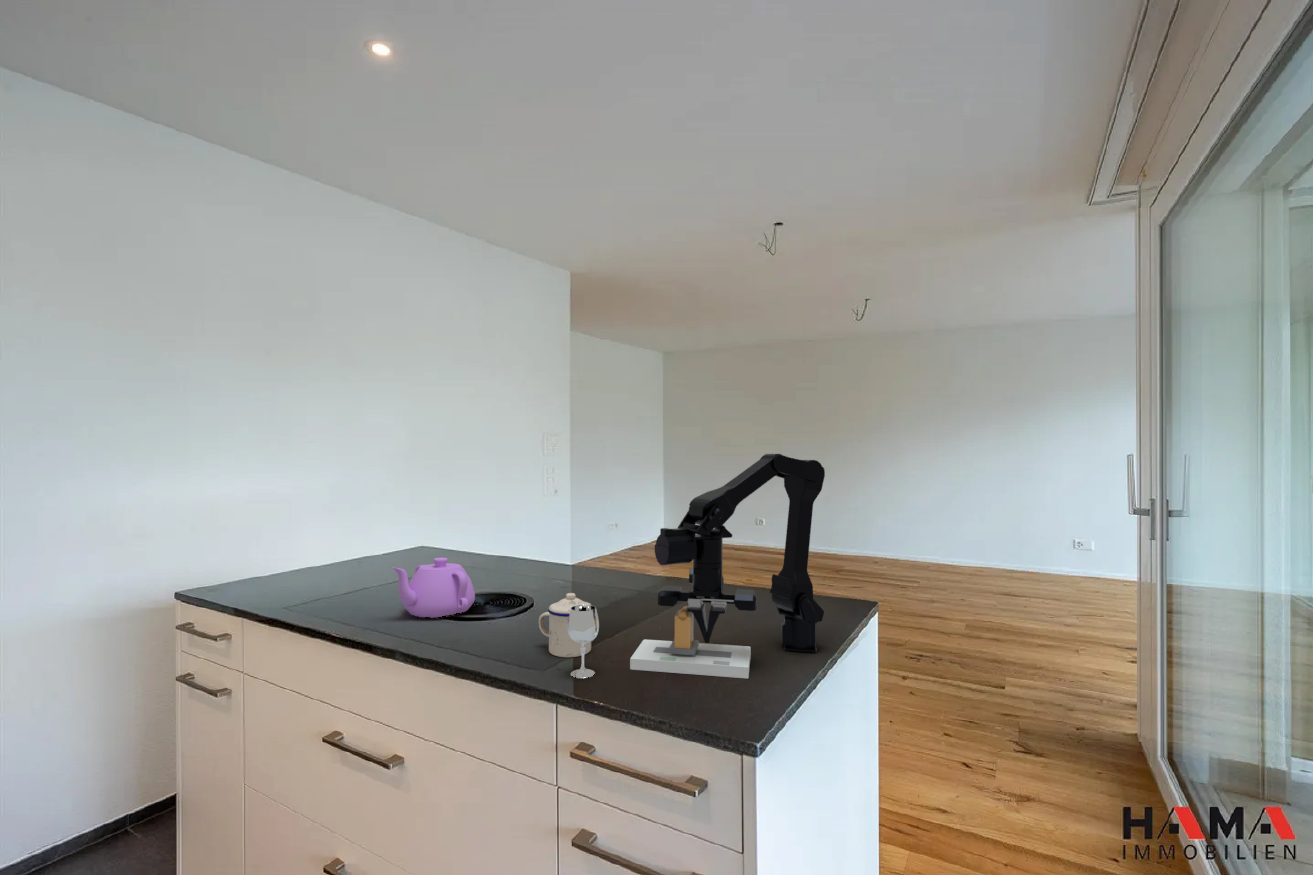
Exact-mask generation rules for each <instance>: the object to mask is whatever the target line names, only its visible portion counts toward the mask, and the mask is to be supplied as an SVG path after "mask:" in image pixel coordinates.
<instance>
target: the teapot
mask: <svg viewBox="0 0 1313 875" xmlns="http://www.w3.org/2000/svg"><path fill="white" fill-rule="evenodd" d="M432 561H433V563H430V564H420V565H418V566H417V567H416V568H415V570H414V575H413V576H412V577H411V579H410V581H409V578H408V577H409V576H408V573H407V571H406V570H405V569H404V568H399V567H393V566H391V567H390V568H392V569H393V570H394V571H395V572H396V573H397V576H398V595H399V599H400V600H401V601H402V604H403V607H404V609H405V610H406V611H407V612H408V613H409V615H411V616H413V615H414V617H417V616H418V618H425V617H430V619H433V617H434V618H435V617H441V618H443V617H442V616H445V615H449V614H456V613H460V614H462V612H463V613H465V612H467V611H468V610H469V609H470V608H471V606H472V605H473V604H474V602H475V601H476V592H475V588H474V585H473V582H472V580H471V578H470V576H469V575H468V573H467V571H466V570H465V568H463V566H462V565H461V564H459V563H451V562H448V558H447V557H435V558H433V560H432Z"/></svg>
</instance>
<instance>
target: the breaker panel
mask: <svg viewBox="0 0 1313 875" xmlns="http://www.w3.org/2000/svg"><path fill="white" fill-rule="evenodd" d="M672 642H673V640H659V639H643V640H642V641H641V642H640V644H639V646H637V648H636V650H635V651H634V653H633V654H632V656H631V657H630V659H629V660H630V661H629V667H630V668H629V670H634V671H647V672H659V673H660V672H661V673H671V674H673V673H674V674H686V675H696V676H697V675H698V676H699V675H700V676H710V677H711V676H713V677H722V678H723V677H724V678H736V679H749V678H750V665H751V657H752V654H751V649H752V648H751V646H745V645H736V644H735V645H733V644H718V643H717V644H716V643H705V642H703V643H702V642H699V646H698V649H697V651H696V654H695V655H682V654H669V647H670V645H671V644H672Z"/></svg>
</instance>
